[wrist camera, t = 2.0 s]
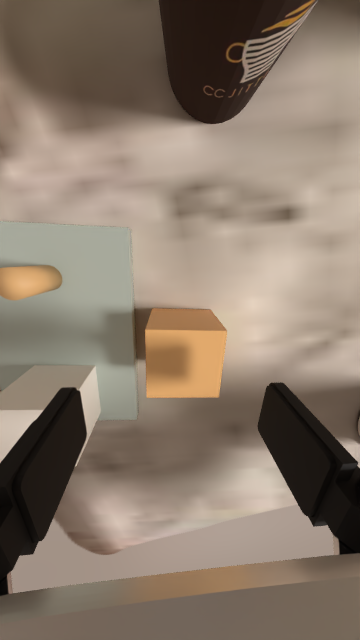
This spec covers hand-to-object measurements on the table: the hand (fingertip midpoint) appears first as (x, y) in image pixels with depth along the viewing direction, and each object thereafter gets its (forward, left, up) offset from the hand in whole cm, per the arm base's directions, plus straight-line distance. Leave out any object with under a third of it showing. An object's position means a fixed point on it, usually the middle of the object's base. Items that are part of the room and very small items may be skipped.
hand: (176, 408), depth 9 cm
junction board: (+10, 0, -10) cm, 14 cm away
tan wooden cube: (-1, 0, -10) cm, 10 cm away
